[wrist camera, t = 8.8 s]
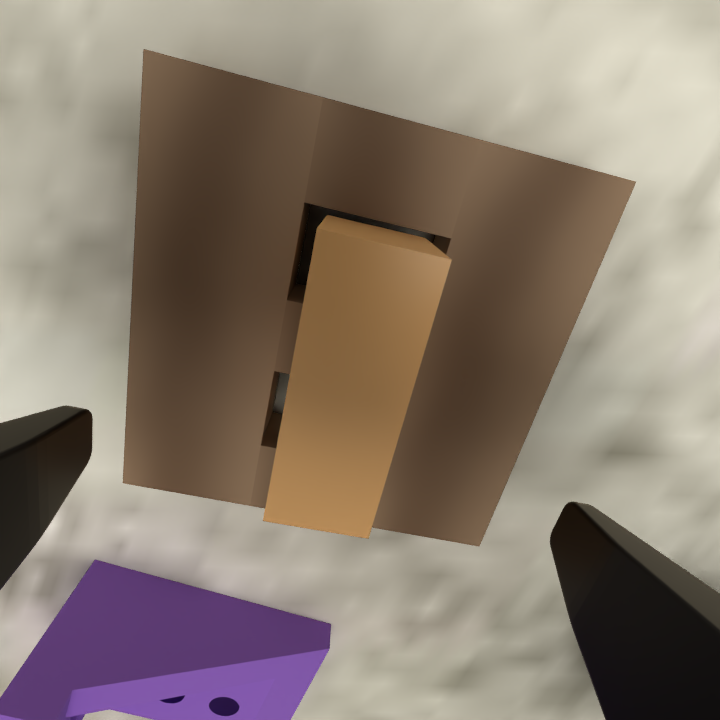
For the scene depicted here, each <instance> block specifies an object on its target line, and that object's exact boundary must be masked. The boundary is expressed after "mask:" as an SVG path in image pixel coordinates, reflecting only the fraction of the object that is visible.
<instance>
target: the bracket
mask: <svg viewBox="0 0 720 720" xmlns="http://www.w3.org/2000/svg"><path fill="white" fill-rule="evenodd" d="M330 630H331V624H329V623H325V622H321V621H318V620H314V619H310V618H307V617H303V616H299V615H296V614H292V613H288V612H285V611H281V610H277V609H274V608H270V607H267V606H263V605H259V604H256V603H252V602H248V601H245V600H241V599H237V598H234V597H230V596H226V595H223V594H219V593H215V592H212V591H208V590H204V589H201V588H197V587H193V586H190V585H186V584H182V583H179V582H175V581H171V580H168V579H164V578H160V577H157V576H153V575H149V574H146V573H142V572H138V571H135V570H131V569H127V568H124V567H120V566H116V565H113V564H109V563H106V562H102V561H98V560H94V562H93V563H92V565H91V566H90V568H89V569H88V571H87V572H86V574H85V575H84V576H83V578H82V579H81V581H80V582H79V584H78V585H77V587H76V588H75V590H74V591H73V593H72V594H71V595H70V597H69V598H68V600H67V601H66V603H65V604H64V606H63V607H62V609H61V610H60V612H59V613H58V614H57V616H56V617H55V619H54V620H53V622H52V623H51V625H50V626H49V628H48V629H47V630H46V632H45V633H44V635H43V636H42V638H41V639H40V641H39V642H38V644H37V645H36V647H35V648H34V649H33V651H32V652H31V654H30V655H29V657H28V658H27V660H26V661H25V663H24V664H23V666H22V667H21V668H20V670H19V671H18V673H17V674H16V676H15V677H14V679H13V680H12V682H11V683H10V684H9V686H8V687H7V689H6V690H5V692H4V693H3V695H2V696H1V698H0V720H82V719H83V717H84V715H85V714H87V713H92V712H98V711H103V710H108V709H110V710H115V711H119V712H123V713H128V714H132V715H137V716H141V717H145V718H150V719H154V720H291V718H292V716H293V714H294V713H295V711H296V709H297V707H298V705H299V703H300V702H301V700H302V698H303V696H304V694H305V692H306V691H307V689H308V687H309V685H310V683H311V682H312V680H313V678H314V676H315V674H316V672H317V671H318V669H319V667H320V665H321V663H322V662H323V660H324V658H325V656H326V654H327V652H328V651H329V649H330Z"/></svg>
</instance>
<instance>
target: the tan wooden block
mask: <svg viewBox="0 0 720 720" xmlns="http://www.w3.org/2000/svg"><path fill="white" fill-rule="evenodd" d="M451 261H452V259H450V258H449V257H448V256H447V255H446V254H444V253H443V252H442V251H441V250H439V249H438V248H437V247H436V246H435V245H433V244H432V243H431V242H430V241H428V240H427V239H426V238H424V237H419V236H415V235H411V234H407V233H402V232H398V231H394V230H390V229H386V228H381V227H377V226H373V225H369V224H364V223H360V222H356V221H352V220H347V219H343V218H339V217H335V216H330V215H327V216H326V217H325V218H324V220H323V221H322V222H321V224H320V225H319V226H318V228H317V230H316V236H315V241H314V247H313V252H312V257H311V263H310V268H309V274H308V279H307V285H306V290H305V295H304V301H303V306H302V312H301V317H300V323H299V328H298V333H297V339H296V344H295V350H294V355H293V360H292V366H291V371H290V377H289V382H288V388H287V393H286V398H285V404H284V409H283V415H282V420H281V426H280V431H279V436H278V442H277V447H276V453H275V458H274V464H273V469H272V474H271V480H270V485H269V491H268V496H267V502H266V507H265V512H264V518H263V521H266V522H272V523H278V524H284V525H290V526H296V527H302V528H308V529H314V530H320V531H326V532H332V533H338V534H344V535H350V536H356V537H361V538H367V539H369V535H370V532H371V529H372V525H373V522H374V518H375V515H376V512H377V508H378V505H379V502H380V498H381V495H382V492H383V488H384V485H385V482H386V478H387V475H388V472H389V468H390V465H391V462H392V458H393V455H394V452H395V448H396V445H397V442H398V438H399V435H400V432H401V428H402V425H403V422H404V418H405V415H406V412H407V408H408V405H409V401H410V398H411V395H412V391H413V388H414V385H415V381H416V378H417V375H418V371H419V368H420V365H421V361H422V358H423V355H424V351H425V348H426V345H427V341H428V338H429V335H430V331H431V328H432V325H433V321H434V318H435V315H436V311H437V308H438V305H439V301H440V298H441V295H442V291H443V288H444V284H445V281H446V278H447V274H448V271H449V268H450V264H451Z"/></svg>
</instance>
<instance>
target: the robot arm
mask: <svg viewBox="0 0 720 720" xmlns="http://www.w3.org/2000/svg"><path fill="white" fill-rule="evenodd" d="M92 421H93V419H92V414H91V412H90V411H89V410H87V409H83V408H77V407H72V406H61V407H57V408H54V409H50V410H46V411H43V412H39V413H36V414H32V415H28V416H25V417H21V418H17V419H14V420H10V421H6V422H3V423H0V590H1V588H2V587H3V586H4V585H5V583H6V582H7V581H8V579H9V578H10V577H11V576H12V574H13V573H14V572H15V571H16V569H17V568H18V567H19V565H20V564H21V563H22V562H23V560H24V559H25V558H26V556H27V555H28V554H29V553H30V551H31V550H32V549H33V547H34V546H35V545H36V543H37V542H38V541H39V539H40V538H41V536H42V535H43V533H44V532H45V530H46V529H47V527H48V526H49V524H50V523H51V521H52V520H53V518H54V516H55V515H56V513H57V512H58V510H59V508H60V507H61V505H62V504H63V502H64V500H65V499H66V497H67V495H68V494H69V492H70V491H71V489H72V487H73V486H74V484H75V483H76V481H77V479H78V478H79V476H80V475H81V473H82V471H83V470H84V468H85V467H86V465H87V463H88V461H89V459H90V456H91V453H92ZM550 545H551V550H552V554H553V558H554V562H555V565H556V569H557V573H558V577H559V581H560V585H561V588H562V592H563V596H564V600H565V604H566V608H567V611H568V615H569V618H570V622H571V625H572V628H573V631H574V634H575V637H576V640H577V642H578V645H579V648H580V651H581V653H582V656H583V659H584V662H585V664H586V667H587V670H588V673H589V675H590V678H591V681H592V684H593V686H594V689H595V692H596V695H597V697H598V700H599V703H600V706H601V709H602V711H603V714H604V717H605V720H720V594H719V593H718V592H716V591H715V590H714V589H712V588H711V587H709V586H708V585H706V584H705V583H703V582H702V581H701V580H699V579H698V578H696V577H695V576H693V575H692V574H690V573H689V572H687V571H686V570H685V569H683V568H682V567H680V566H679V565H677V564H676V563H674V562H673V561H671V560H670V559H669V558H667V557H666V556H664V555H663V554H661V553H660V552H658V551H657V550H656V549H654V548H653V547H651V546H650V545H648V544H647V543H645V542H644V541H642V540H641V539H640V538H638V537H637V536H635V535H634V534H632V533H631V532H629V531H628V530H627V529H625V528H624V527H622V526H621V525H619V524H618V523H616V522H615V521H613V520H612V519H611V518H609V517H608V516H606V515H605V514H603V513H602V512H600V511H599V510H598V509H596V508H595V507H593V506H591V505H588V504H583V503H578V502H569V503H567V504H566V505H565V507H564V508H563V510H562V512H561V514H560V516H559V518H558V520H557V522H556V524H555V526H554V528H553V530H552V533H551V537H550Z"/></svg>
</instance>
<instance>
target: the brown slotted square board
mask: <svg viewBox="0 0 720 720" xmlns="http://www.w3.org/2000/svg"><path fill="white" fill-rule="evenodd" d="M635 183H636V182H635V181H631V180H628V179H624V178H620V177H616V176H613V175H609V174H605V173H602V172H598V171H594V170H590V169H587V168H583V167H579V166H576V165H572V164H568V163H565V162H561V161H557V160H553V159H550V158H546V157H542V156H539V155H535V154H531V153H527V152H524V151H520V150H516V149H513V148H509V147H505V146H501V145H498V144H494V143H490V142H487V141H483V140H479V139H475V138H472V137H468V136H464V135H461V134H457V133H453V132H450V131H446V130H442V129H438V128H435V127H431V126H427V125H424V124H420V123H416V122H412V121H409V120H405V119H401V118H398V117H394V116H390V115H386V114H383V113H379V112H375V111H372V110H368V109H364V108H360V107H357V106H353V105H349V104H346V103H342V102H338V101H335V100H331V99H327V98H323V97H320V96H316V95H312V94H309V93H305V92H301V91H297V90H294V89H290V88H286V87H283V86H279V85H275V84H271V83H268V82H264V81H260V80H257V79H253V78H249V77H246V76H242V75H238V74H234V73H231V72H227V71H223V70H220V69H216V68H212V67H208V66H205V65H201V64H197V63H194V62H190V61H186V60H182V59H179V58H175V57H171V56H168V55H164V54H160V53H156V52H153V51H149V50H145V49H144V51H143V72H142V93H141V114H140V135H139V156H138V177H137V197H136V218H135V239H134V260H133V281H132V302H131V323H130V343H129V364H128V385H127V406H126V427H125V448H124V468H123V483H125V484H131V485H136V486H142V487H148V488H153V489H159V490H165V491H170V492H176V493H182V494H187V495H193V496H198V497H204V498H210V499H215V500H221V501H227V502H232V503H238V504H243V505H249V506H255V507H260V508H265V507H266V502H267V496H268V491H269V485H270V480H271V474H272V469H273V464H274V458H275V453H276V447H277V442H278V436H279V431H280V426H281V420H282V415H283V414H279V413H274V412H273V407H274V401H275V396H276V390H277V385H278V380H279V374H280V372H281V373H286V374H290V371H291V366H292V360H293V355H294V350H295V344H296V339H297V333H298V328H299V323H300V317H301V312H302V306H303V301H304V295H305V290H306V285H301V284H297V283H296V282H297V276H298V271H299V266H300V260H301V255H302V249H303V244H304V238H305V233H306V228H307V222H308V217H309V211H310V206H311V204H313V205H317V206H321V207H325V208H329V209H333V210H337V211H341V212H345V213H349V214H354V215H358V216H362V217H366V218H370V219H374V220H378V221H382V222H386V223H390V224H394V225H398V226H402V227H406V228H411V229H415V230H419V231H423V232H427V233H431V234H435V239H434V242H433V245H435V246H436V247H437V248H438V249H439V250H441V251H442V252H443V253H444V254H446V255H447V256H448V257H449V258H450V259H452V261H451V264H450V268H449V271H448V274H447V278H446V281H445V284H444V288H443V291H442V295H441V298H440V301H439V305H438V308H437V311H436V315H435V318H434V321H433V325H432V328H431V331H430V335H429V338H428V341H427V345H426V348H425V351H424V355H423V358H422V361H421V365H420V368H419V371H418V375H417V378H416V381H415V385H414V388H413V391H412V395H411V398H410V401H409V405H408V408H407V412H406V415H405V418H404V422H403V425H402V428H401V432H400V435H399V438H398V442H397V445H396V448H395V452H394V455H393V458H392V462H391V465H390V468H389V472H388V475H387V478H386V482H385V485H384V488H383V492H382V495H381V498H380V502H379V505H378V508H377V512H376V515H375V518H374V522H373V525H372V527H373V528H379V529H384V530H390V531H395V532H401V533H407V534H412V535H418V536H424V537H429V538H435V539H440V540H446V541H452V542H457V543H463V544H469V545H474V546H480V544H481V541H482V539H483V537H484V534H485V532H486V530H487V527H488V525H489V523H490V520H491V518H492V516H493V513H494V511H495V509H496V506H497V504H498V502H499V499H500V497H501V495H502V492H503V490H504V488H505V485H506V483H507V481H508V478H509V476H510V474H511V471H512V469H513V467H514V465H515V462H516V460H517V458H518V455H519V453H520V451H521V448H522V446H523V444H524V441H525V439H526V437H527V434H528V432H529V430H530V427H531V425H532V423H533V420H534V418H535V416H536V413H537V411H538V409H539V406H540V404H541V402H542V399H543V397H544V395H545V392H546V390H547V388H548V386H549V383H550V381H551V379H552V376H553V374H554V372H555V369H556V367H557V365H558V362H559V360H560V358H561V355H562V353H563V351H564V348H565V346H566V344H567V341H568V339H569V337H570V334H571V332H572V330H573V327H574V325H575V323H576V320H577V318H578V316H579V313H580V311H581V309H582V307H583V304H584V302H585V300H586V297H587V295H588V293H589V290H590V288H591V286H592V283H593V281H594V279H595V276H596V274H597V272H598V269H599V267H600V265H601V262H602V260H603V258H604V255H605V253H606V251H607V248H608V246H609V244H610V241H611V239H612V237H613V234H614V232H615V230H616V228H617V225H618V223H619V221H620V218H621V216H622V214H623V211H624V209H625V207H626V204H627V202H628V200H629V197H630V195H631V193H632V190H633V188H634V186H635Z"/></svg>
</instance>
